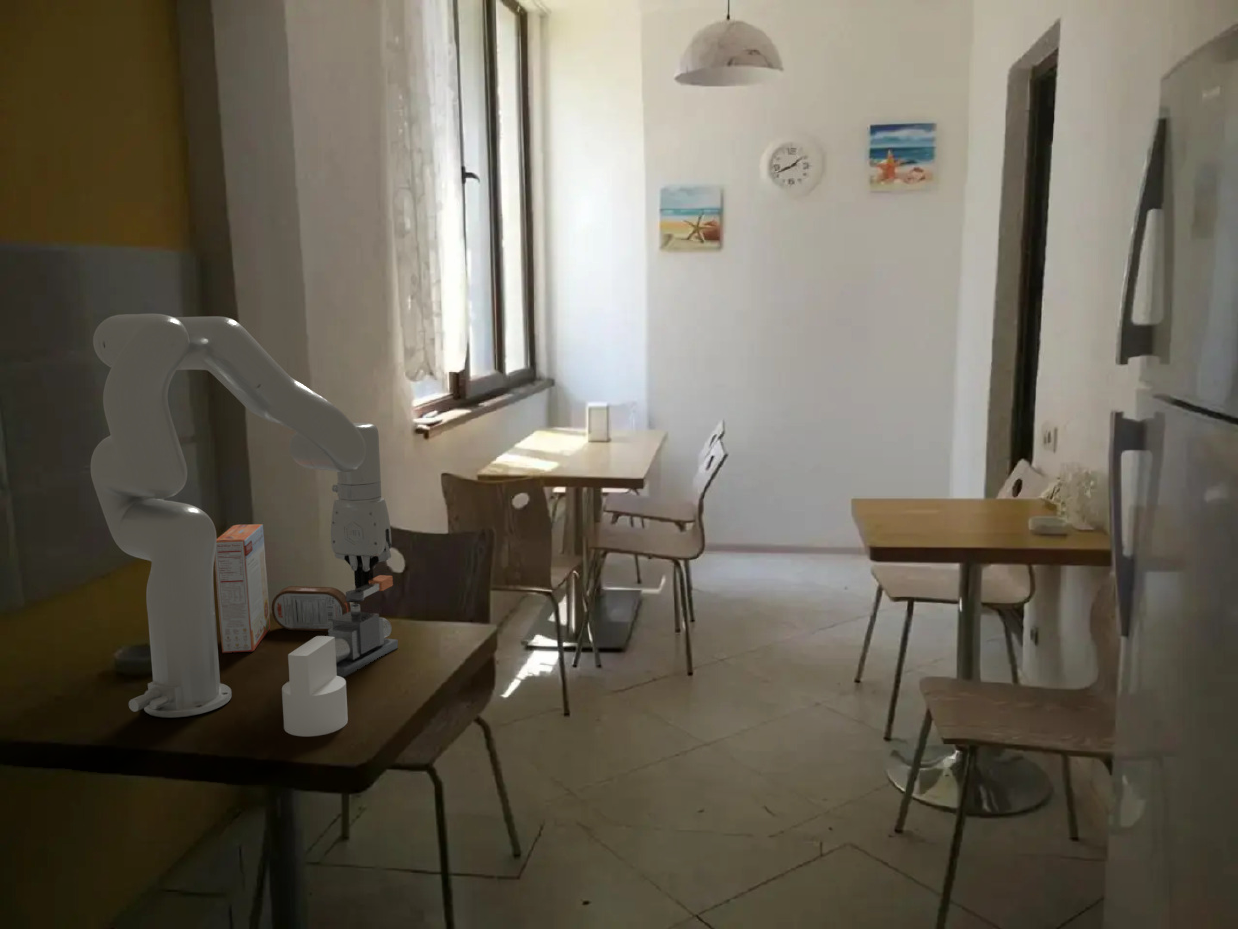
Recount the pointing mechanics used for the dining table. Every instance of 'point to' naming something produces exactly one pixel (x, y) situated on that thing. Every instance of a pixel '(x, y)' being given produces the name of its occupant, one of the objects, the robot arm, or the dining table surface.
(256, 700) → the dining table surface
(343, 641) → the valve body
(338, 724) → the base with upright slab
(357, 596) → the lever
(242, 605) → the cracker box
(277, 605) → the tin
